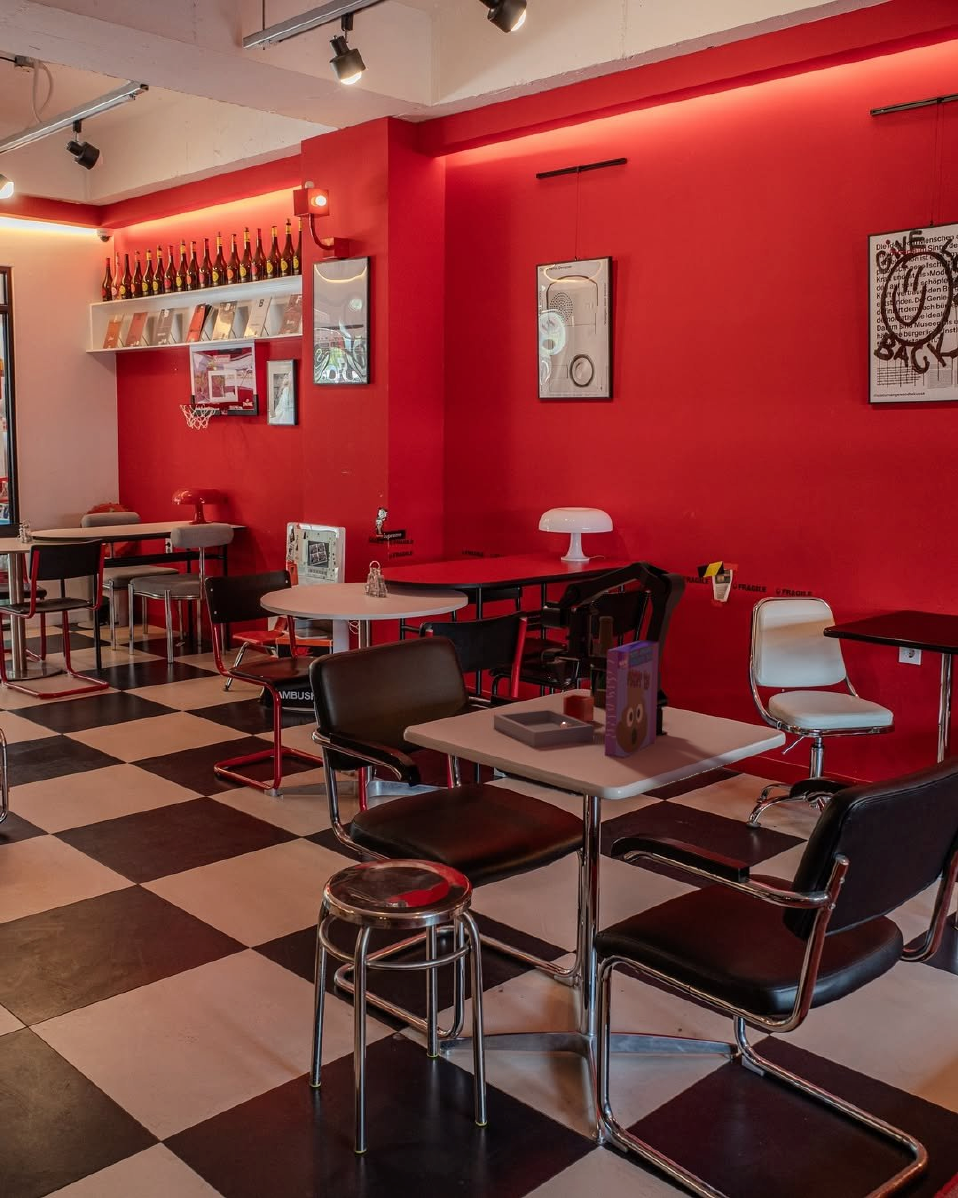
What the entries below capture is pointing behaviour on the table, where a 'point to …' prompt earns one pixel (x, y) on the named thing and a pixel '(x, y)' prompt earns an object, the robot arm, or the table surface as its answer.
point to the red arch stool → (579, 707)
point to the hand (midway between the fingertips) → (577, 692)
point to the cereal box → (631, 698)
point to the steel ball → (565, 725)
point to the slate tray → (543, 727)
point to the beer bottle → (607, 644)
